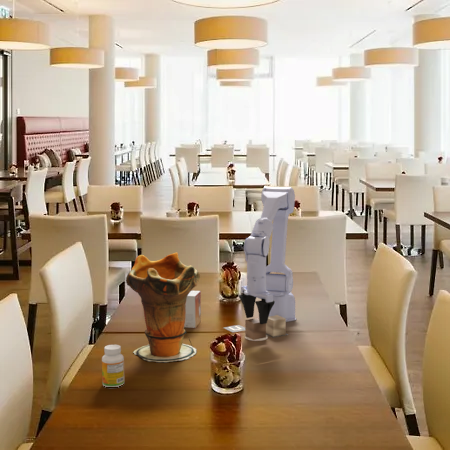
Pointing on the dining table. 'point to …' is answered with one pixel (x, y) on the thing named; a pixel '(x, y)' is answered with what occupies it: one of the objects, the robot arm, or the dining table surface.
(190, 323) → the small box
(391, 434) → the dining table surface
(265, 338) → the coaster
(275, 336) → the code tile
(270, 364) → the dining table surface
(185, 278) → the decorative vase
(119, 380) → the supplement bottle
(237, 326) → the code tile
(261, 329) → the walnut block
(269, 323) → the maple block
